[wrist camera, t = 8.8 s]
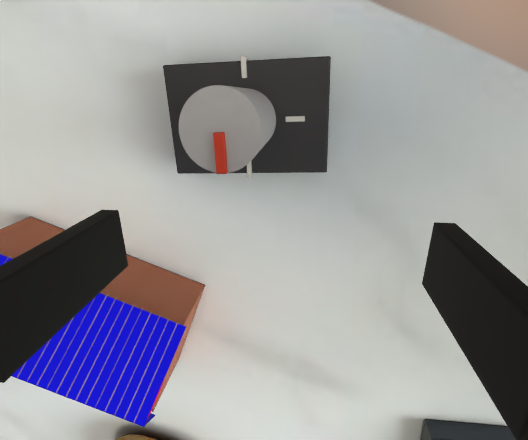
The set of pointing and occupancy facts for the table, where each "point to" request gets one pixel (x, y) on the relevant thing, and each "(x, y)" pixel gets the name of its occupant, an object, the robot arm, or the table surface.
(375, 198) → the table surface
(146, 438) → the bread roll
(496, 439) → the button block
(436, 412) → the table surface
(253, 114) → the timer dial
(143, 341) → the house
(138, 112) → the table surface
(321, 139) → the timer panel
